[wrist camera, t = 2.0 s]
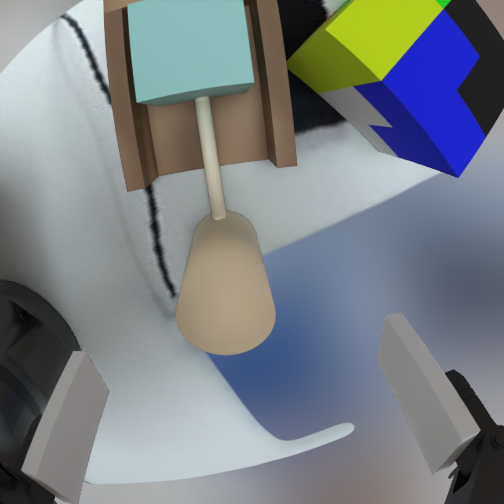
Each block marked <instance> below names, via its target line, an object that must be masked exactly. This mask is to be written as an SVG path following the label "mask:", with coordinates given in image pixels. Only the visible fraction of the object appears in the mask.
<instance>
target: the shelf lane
mask: <svg viewBox="0 0 504 504" xmlns="http://www.w3.org/2000/svg"><path fill="white" fill-rule="evenodd" d="M139 1H143V0H103V2H104V30H105V45H106V58H107V69H108V78H109V87H110V95H111V103H112V110H113V117H114V123H115V129H116V136H117V141H118V147H119V153H120V158H121V163H122V168H123V173H124V178H125V183H126V187H127V192H129V191H134V190H139V189H144V188H146V187H147V186H148V185H149V184H151V183H152V182H153V181H154V180H155V179H156V178H157V177H158V176H161V175H167V174H172V173H178V172H183V171H189V170H195V169H201V168H204V162H203V156H202V149H201V142H200V135H199V129H198V122H197V114H196V107H195V100H192V101H187V102H181V103H176V104H171V105H166V106H161V107H160V106H154V105H148V104H142V103H137V100H136V93H135V85H134V77H133V68H132V58H131V48H130V36H129V23H128V4H132V3H135V2H139ZM243 3H244V10H245V17H246V24H247V31H248V39H249V46H250V53H251V61H252V69H253V76H254V83H253V85H252V86H251V87H250V89H249V90H248V91H247V93H240V94H232V95H224V96H217V97H210V104H211V111H212V119H213V126H214V133H215V141H216V148H217V155H218V162H219V166H221V165H228V164H235V163H242V162H250V161H258V160H267V159H269V160H270V161H271V162H272V163H273V164H274V165H275V166H276V167H277V168H281V167H290V166H297V157H296V146H295V135H294V125H293V116H292V106H291V97H290V89H289V81H288V73H287V65H286V57H285V50H284V43H283V36H282V29H281V23H280V16H279V10H278V4H277V0H243Z"/></svg>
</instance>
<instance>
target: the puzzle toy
mask: <svg viewBox="0 0 504 504" xmlns="http://www.w3.org/2000/svg"><path fill="white" fill-rule="evenodd" d="M286 65H287V69H288V70H290V71H291V72H292V73H293V74H295V75H296V76H297V77H298V78H300V79H301V80H302V81H303V82H304V83H306V84H307V85H308V86H309V87H310V88H312V89H313V90H314V91H315V92H316V93H318V94H319V95H320V96H321V97H322V98H323V99H324V100H326V101H327V102H328V103H329V104H330V105H331V106H332V107H333V108H334V109H336V110H337V111H338V112H339V113H340V114H341V115H342V116H343V117H344V118H345V119H346V120H347V121H348V122H349V123H351V124H352V125H353V126H354V127H355V128H356V129H357V130H358V131H359V132H360V133H361V134H362V135H363V136H364V137H365V138H366V139H367V140H368V141H369V142H370V143H371V144H372V145H373V146H374V148H375V149H376V150H377V151H379V152H382V153H386V154H389V155H392V156H396V157H399V158H402V159H405V160H408V161H412V162H415V163H418V164H421V165H424V166H426V167H429V168H432V169H435V170H438V171H441V172H443V173H446V174H449V175H451V176H454V177H457V178H459V176H460V175H461V174H462V172H463V170H464V169H465V168H466V167H467V165H468V163H469V162H470V161H471V159H472V158H473V156H474V155H475V153H476V152H477V150H478V149H479V147H480V146H481V144H482V143H483V141H484V139H485V138H486V136H487V135H488V133H489V132H490V130H491V128H492V127H493V125H494V124H495V122H496V120H497V119H498V117H499V115H500V114H501V112H502V110H503V108H504V40H503V38H502V37H501V35H500V34H499V32H498V31H497V29H496V28H495V26H494V25H493V24H492V22H491V21H490V19H489V18H488V16H487V15H486V14H485V12H484V11H483V10H482V8H481V7H480V6H479V4H478V3H477V2H476V0H347V1H346V2H345V3H344V4H343V5H341V6H340V7H339V8H338V9H337V10H336V11H335V12H334V13H333V14H332V15H331V16H330V17H329V18H328V19H327V20H326V21H325V22H324V23H323V24H322V25H321V26H320V27H319V28H318V29H317V30H316V31H315V32H314V33H313V34H312V35H311V36H310V37H309V38H308V39H307V40H306V41H305V42H304V43H303V44H302V45H301V46H300V48H299V49H298V50H297V51H296V52H295V53H294V54H293V55H292V56H291V57H290V58H289V59H288V60H287V62H286Z"/></svg>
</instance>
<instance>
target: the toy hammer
mask: <svg viewBox="0 0 504 504" xmlns="http://www.w3.org/2000/svg"><path fill="white" fill-rule="evenodd" d="M128 23H129V36H130V48H131V58H132V68H133V77H134V85H135V93H136V100H137V103H142V104H148V105H154V106H160V107H161V106H166V105H171V104H176V103H181V102H187V101H192V100H195V107H196V114H197V122H198V129H199V135H200V142H201V149H202V156H203V162H204V169H205V175H206V181H207V187H208V194H209V200H210V206H211V212H212V214H210V215H208V216H206V217H205V218H204V219H202V220H201V221H200V223H199V224H198V225H197V227H196V229H195V232H194V236H193V239H192V243H191V247H190V251H189V255H188V259H187V264H186V268H185V272H184V276H183V280H182V285H181V289H180V293H179V298H178V302H177V307H176V322H177V326H178V328H179V330H180V332H181V334H182V335H183V336H184V338H185V339H186V340H187V341H188V342H189V343H191V344H192V345H193V346H195V347H197V348H198V349H201V350H203V351H206V352H209V353H213V354H219V355H233V354H239V353H243V352H246V351H248V350H251V349H253V348H255V347H256V346H258V345H259V344H261V343H262V342H263V341H264V340H265V339H266V338H267V337H268V335H269V334H270V332H271V331H272V329H273V326H274V323H275V317H276V316H275V315H276V312H275V306H274V302H273V299H272V295H271V291H270V287H269V283H268V279H267V275H266V271H265V267H264V263H263V259H262V255H261V251H260V247H259V243H258V240H257V236H256V232H255V229H254V227H253V225H252V224H251V223H250V221H249V220H248V219H246V218H245V217H244V216H242V215H241V214H238V213H236V212H232V211H226V209H225V202H224V196H223V189H222V182H221V175H220V169H219V162H218V155H217V148H216V141H215V133H214V126H213V119H212V111H211V104H210V97H217V96H224V95H232V94H240V93H247V91H248V90H249V89H250V87H251V86H252V85H253V83H254V76H253V69H252V61H251V53H250V46H249V39H248V31H247V24H246V17H245V10H244V3H243V0H143V1H139V2H135V3H132V4H128Z"/></svg>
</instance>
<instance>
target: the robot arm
mask: <svg viewBox="0 0 504 504" xmlns="http://www.w3.org/2000/svg"><path fill="white" fill-rule="evenodd" d="M377 361H378V363H379V365H380V367H381V369H382V371H383V373H384V375H385V377H386V379H387V381H388V382H389V385H390V387H391V389H392V391H393V392H394V394H395V397H396V398H397V401H398V403H399V405H400V407H401V409H402V411H403V413H404V415H405V417H406V419H407V421H408V423H409V425H410V427H411V429H412V432H413V433H414V435H415V437H416V440H417V442H418V444H419V446H420V449H421V451H422V453H423V455H424V458H425V460H426V462H427V464H428V466H429V469H430V471H431V473H432V475H434V474H437V473H439V472H441V471H443V470H445V469H447V468H449V467H450V466H451V465H452V464H453V463H454V462H455V461H456V463H457V465H458V466H457V467H456V468H455V469H454V470H453V471H452V472H451V473H450V475H449V477H448V478H451V477H452V476H453V475H454V477H453V480H452V484H451V486H450V490H449V492H448V495H447V498H446V501H445V503H444V504H504V426H502V425H497V424H496V423H495V422H494V421H493V419H492V418H491V417H490V415H489V413H488V412H487V410H486V408H485V407H484V405H483V404H482V402H481V401H480V399H479V398H478V396H477V395H475V392H474V390H473V389H472V388H470V385H469V383H468V382H467V381H466V379H465V378H464V376H462V375H461V374H460V373H458V372H457V371H455V370H454V369H453V370H451V371H448V372H446V373H444V372H443V370H442V369H441V367H440V366H439V365H438V363H437V362H436V360H435V359H434V357H433V356H432V354H431V353H430V352H429V350H428V349H427V347H426V346H425V345H424V343H423V342H422V341H421V339H420V338H419V336H418V335H417V333H416V332H415V331H414V329H413V328H412V327H411V325H410V324H409V323H408V321H407V320H406V319H405V317H404V316H403V315H402V313H401V312H398V313H394V314H389V315H386V316H385V320H384V326H383V332H382V337H381V343H380V348H379V353H378V358H377ZM108 394H109V389H108V388H107V386H106V384H105V383H104V381H103V380H102V378H101V376H100V374H99V373H98V371H97V369H96V368H95V366H94V364H93V362H92V361H91V359H90V357H89V355H88V353H87V352H86V351H80V349H79V346H78V343H77V341H76V339H75V337H74V335H73V333H72V332H71V330H70V328H69V327H68V325H67V324H66V323H65V321H64V320H63V319H62V317H61V316H60V315H59V314H58V313H57V312H56V311H55V310H54V309H53V308H52V307H51V306H50V305H49V304H48V303H47V302H46V301H45V300H44V299H42V298H41V297H40V296H38V295H37V294H36V293H34V292H33V291H31V290H29V289H28V288H26V287H24V286H22V285H19V284H17V283H14V282H9V281H0V504H57V503H56V502H55V501H54V499H55V496H56V497H57V498H59V499H60V500H62V501H63V502H67V503H70V504H79V499H80V495H81V490H82V486H83V482H84V478H85V474H86V470H87V466H88V462H89V458H90V454H91V451H92V447H93V443H94V440H95V436H96V433H97V430H98V426H99V423H100V420H101V416H102V413H103V410H104V407H105V404H106V400H107V397H108Z"/></svg>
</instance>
